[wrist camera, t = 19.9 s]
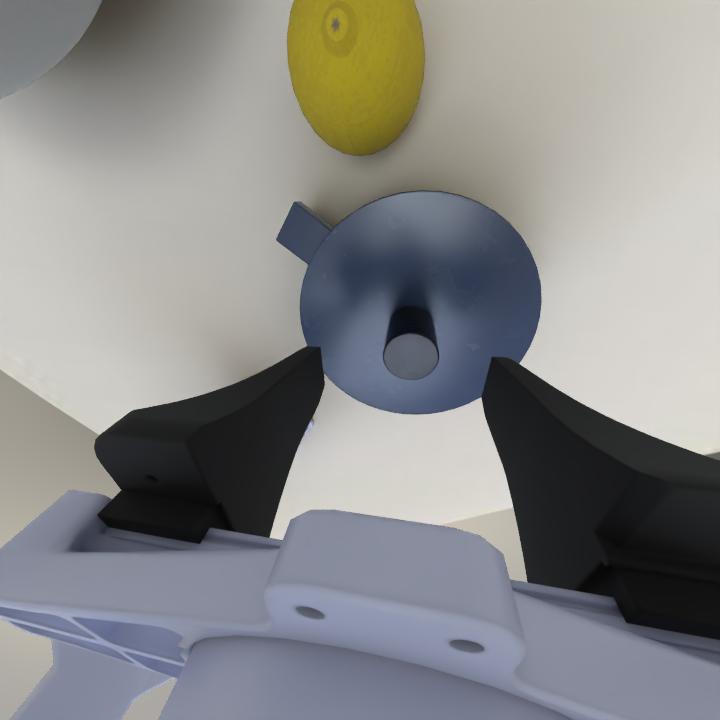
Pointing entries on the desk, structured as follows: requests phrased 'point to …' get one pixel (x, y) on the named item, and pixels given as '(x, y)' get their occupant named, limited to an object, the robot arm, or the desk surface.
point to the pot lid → (419, 301)
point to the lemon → (356, 69)
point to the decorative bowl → (38, 37)
